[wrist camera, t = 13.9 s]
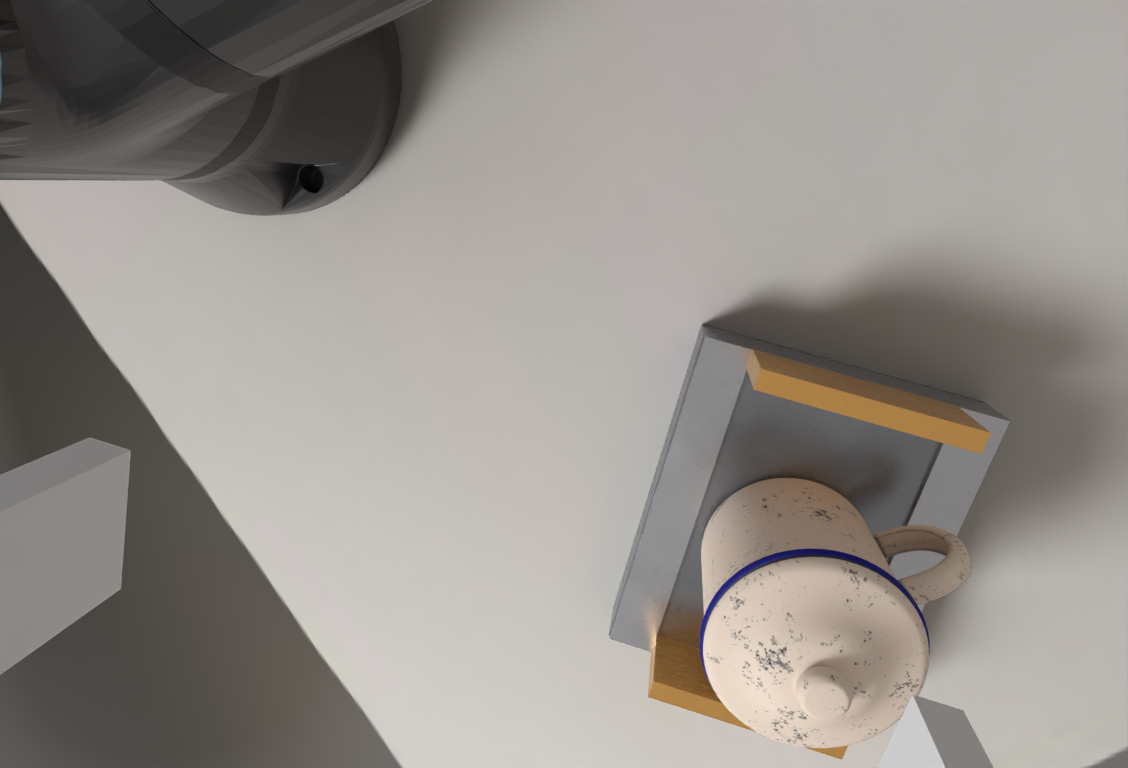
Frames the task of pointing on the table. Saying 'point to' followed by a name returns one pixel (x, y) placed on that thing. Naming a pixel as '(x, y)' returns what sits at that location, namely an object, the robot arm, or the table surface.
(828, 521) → the teacup with lid
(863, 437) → the grey tray
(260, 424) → the table surface
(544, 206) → the table surface
